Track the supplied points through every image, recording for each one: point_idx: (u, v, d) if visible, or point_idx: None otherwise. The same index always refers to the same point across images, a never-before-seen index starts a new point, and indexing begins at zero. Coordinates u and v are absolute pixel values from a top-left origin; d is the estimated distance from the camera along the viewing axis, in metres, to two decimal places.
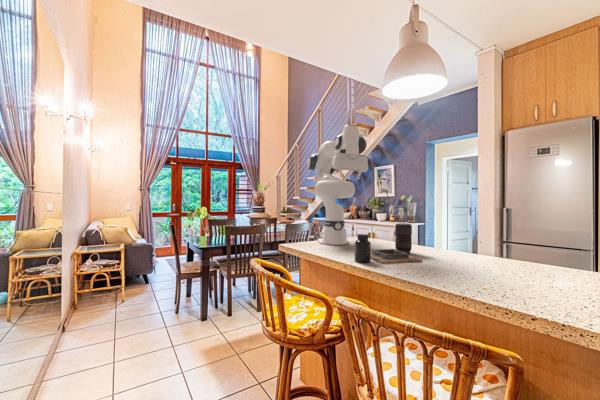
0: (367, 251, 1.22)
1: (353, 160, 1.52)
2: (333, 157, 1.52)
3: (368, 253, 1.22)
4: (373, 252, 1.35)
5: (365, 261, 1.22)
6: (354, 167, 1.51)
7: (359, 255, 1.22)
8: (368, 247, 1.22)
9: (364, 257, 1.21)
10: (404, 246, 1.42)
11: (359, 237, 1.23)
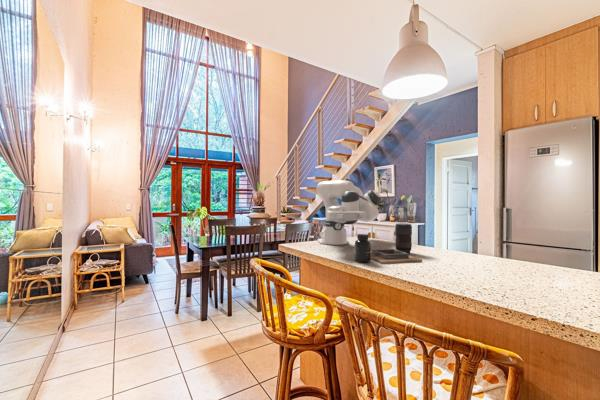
0: (367, 251, 1.22)
1: (346, 212, 1.46)
2: (326, 217, 1.45)
3: (368, 253, 1.22)
4: (373, 252, 1.35)
5: (365, 261, 1.22)
6: (350, 211, 1.42)
7: (359, 255, 1.22)
8: (368, 247, 1.22)
9: (364, 257, 1.21)
10: (404, 246, 1.42)
11: (359, 237, 1.23)
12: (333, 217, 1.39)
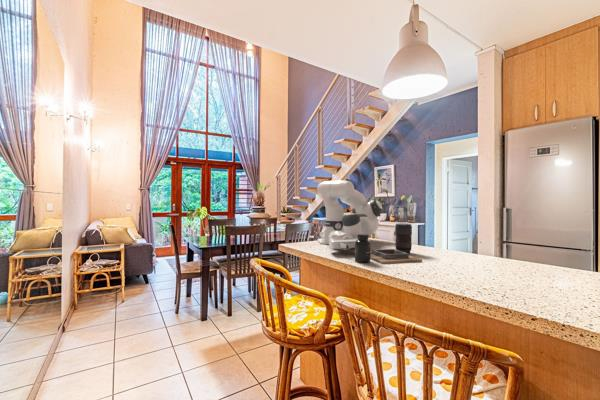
0: (367, 251, 1.22)
1: (350, 239, 1.43)
2: None
3: (368, 253, 1.22)
4: (373, 252, 1.35)
5: (365, 261, 1.22)
6: (354, 240, 1.40)
7: (359, 255, 1.22)
8: (368, 247, 1.22)
9: (364, 257, 1.21)
10: (404, 246, 1.42)
11: (359, 237, 1.23)
12: (337, 247, 1.37)
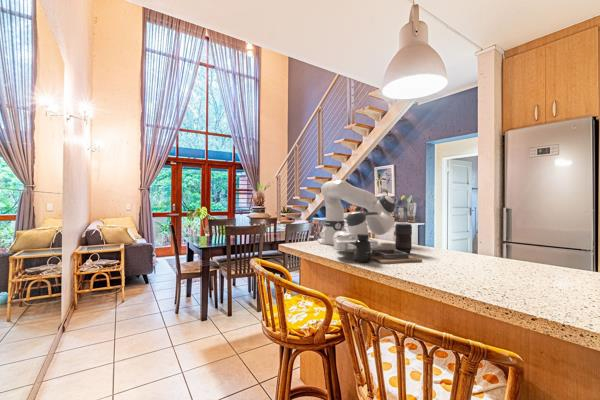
0: (367, 251, 1.22)
1: None
2: None
3: (368, 253, 1.22)
4: (373, 252, 1.35)
5: (365, 261, 1.22)
6: None
7: (359, 255, 1.22)
8: (368, 247, 1.22)
9: (364, 257, 1.21)
10: (404, 246, 1.42)
11: (359, 237, 1.23)
12: (342, 247, 1.27)
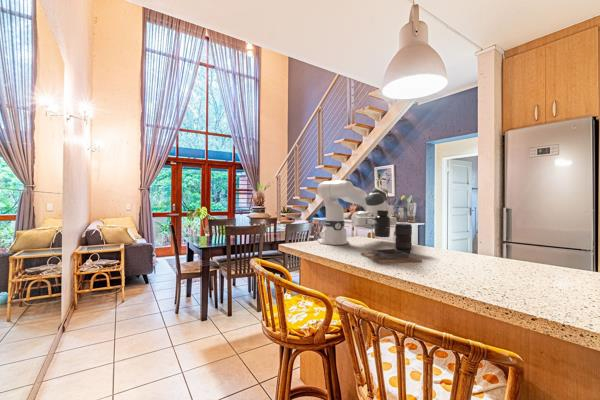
0: (387, 226, 1.26)
1: None
2: None
3: (387, 228, 1.26)
4: (373, 252, 1.35)
5: (385, 235, 1.26)
6: None
7: (379, 230, 1.26)
8: (388, 222, 1.26)
9: (384, 232, 1.26)
10: (404, 246, 1.42)
11: (379, 212, 1.28)
12: (362, 223, 1.31)
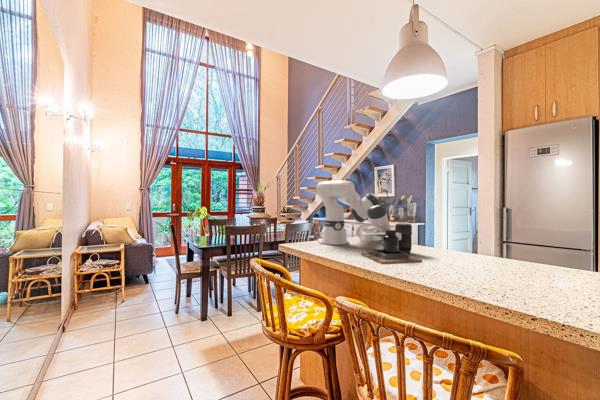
0: (396, 245, 1.30)
1: (381, 233, 1.43)
2: (361, 238, 1.41)
3: (397, 247, 1.30)
4: (373, 252, 1.35)
5: None
6: None
7: (389, 249, 1.30)
8: (397, 241, 1.30)
9: (393, 251, 1.29)
10: (404, 246, 1.42)
11: (387, 232, 1.32)
12: (369, 239, 1.36)
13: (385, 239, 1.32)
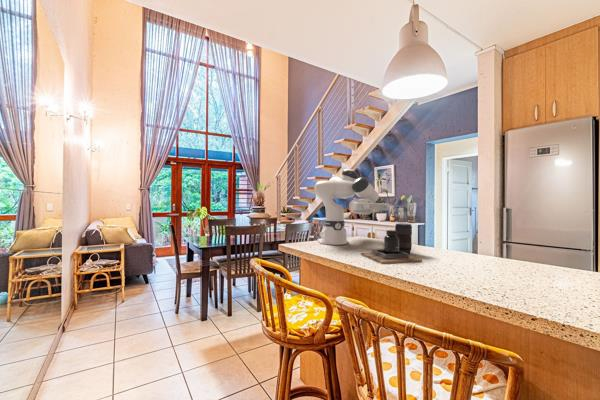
0: (397, 246, 1.30)
1: None
2: None
3: (397, 248, 1.30)
4: (373, 252, 1.35)
5: None
6: (375, 203, 1.50)
7: (389, 250, 1.30)
8: (397, 242, 1.30)
9: (394, 252, 1.29)
10: (404, 246, 1.42)
11: (388, 233, 1.31)
12: (360, 208, 1.46)
13: (386, 239, 1.31)
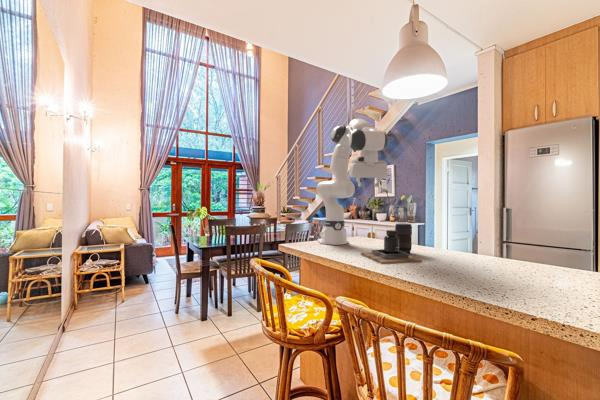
0: (397, 246, 1.30)
1: (372, 167, 1.44)
2: (350, 165, 1.44)
3: (397, 248, 1.30)
4: (373, 252, 1.35)
5: None
6: (373, 175, 1.44)
7: (389, 250, 1.30)
8: (397, 242, 1.30)
9: (394, 252, 1.29)
10: (404, 246, 1.42)
11: (388, 233, 1.31)
12: None
13: (386, 239, 1.31)
